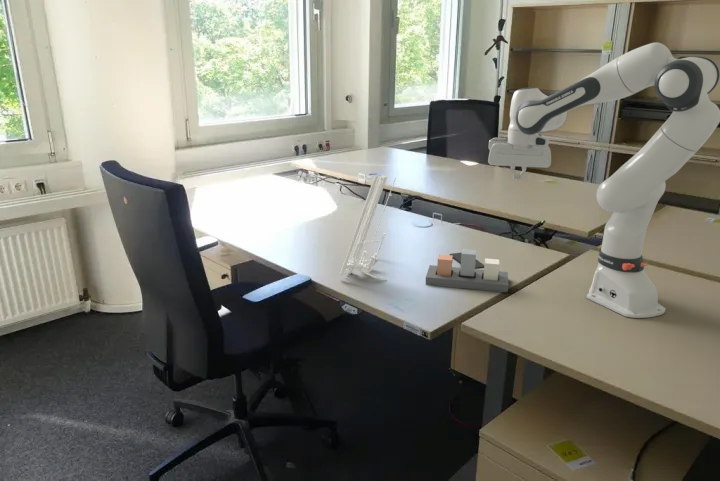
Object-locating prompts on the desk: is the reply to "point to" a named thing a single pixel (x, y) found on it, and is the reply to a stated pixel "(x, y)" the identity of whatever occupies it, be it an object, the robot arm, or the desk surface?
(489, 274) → the key ivory
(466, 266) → the key slate
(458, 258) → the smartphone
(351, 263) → the white display easel
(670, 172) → the robot arm
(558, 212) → the desk surface
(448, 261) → the key terracotta
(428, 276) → the keypad base
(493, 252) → the desk surface
